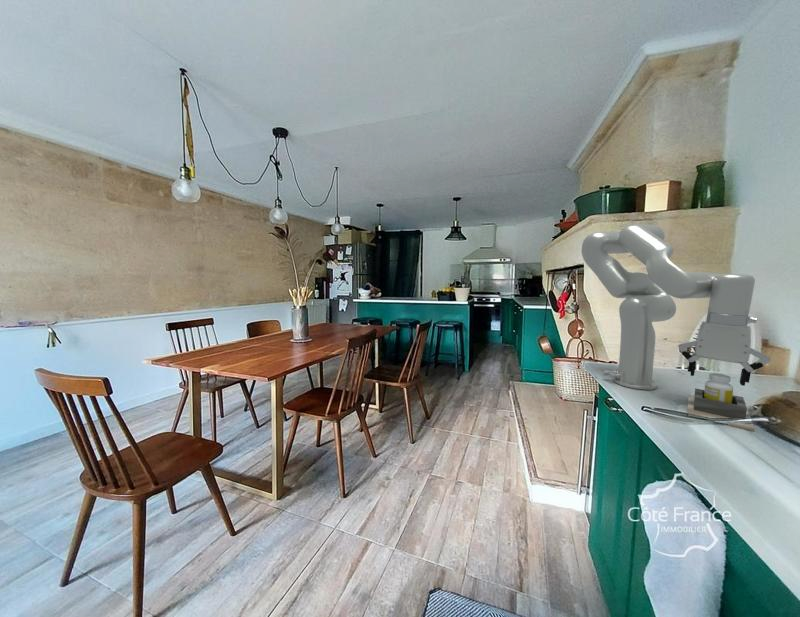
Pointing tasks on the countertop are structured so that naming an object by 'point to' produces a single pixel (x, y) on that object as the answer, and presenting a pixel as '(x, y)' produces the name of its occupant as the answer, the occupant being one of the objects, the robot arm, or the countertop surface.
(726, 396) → the supplement bottle
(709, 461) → the countertop surface
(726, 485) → the countertop surface
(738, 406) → the holder board
